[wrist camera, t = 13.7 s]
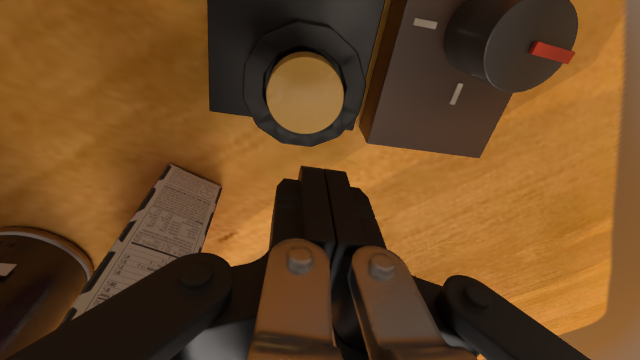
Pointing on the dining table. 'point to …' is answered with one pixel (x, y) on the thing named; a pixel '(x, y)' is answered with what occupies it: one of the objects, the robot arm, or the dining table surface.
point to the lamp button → (304, 92)
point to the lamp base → (281, 40)
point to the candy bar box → (153, 236)
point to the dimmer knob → (511, 41)
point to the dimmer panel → (427, 87)
